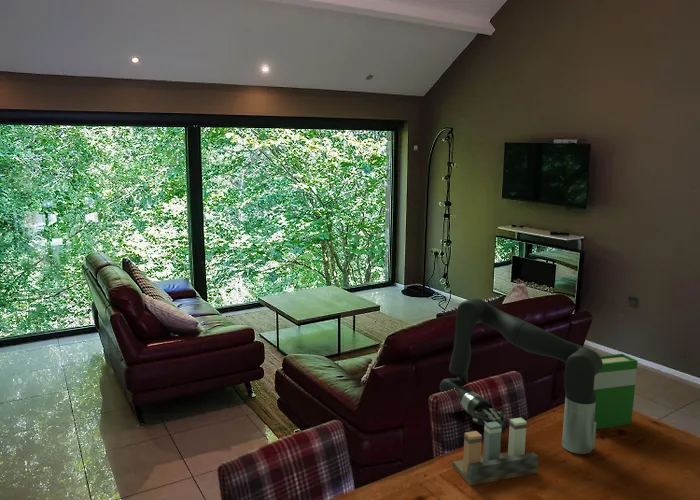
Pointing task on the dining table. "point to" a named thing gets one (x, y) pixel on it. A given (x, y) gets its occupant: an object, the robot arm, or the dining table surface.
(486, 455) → the slate key
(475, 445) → the tan tall block
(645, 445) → the dining table surface
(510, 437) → the white tall block
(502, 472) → the dark grey block stand
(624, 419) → the hardback book
